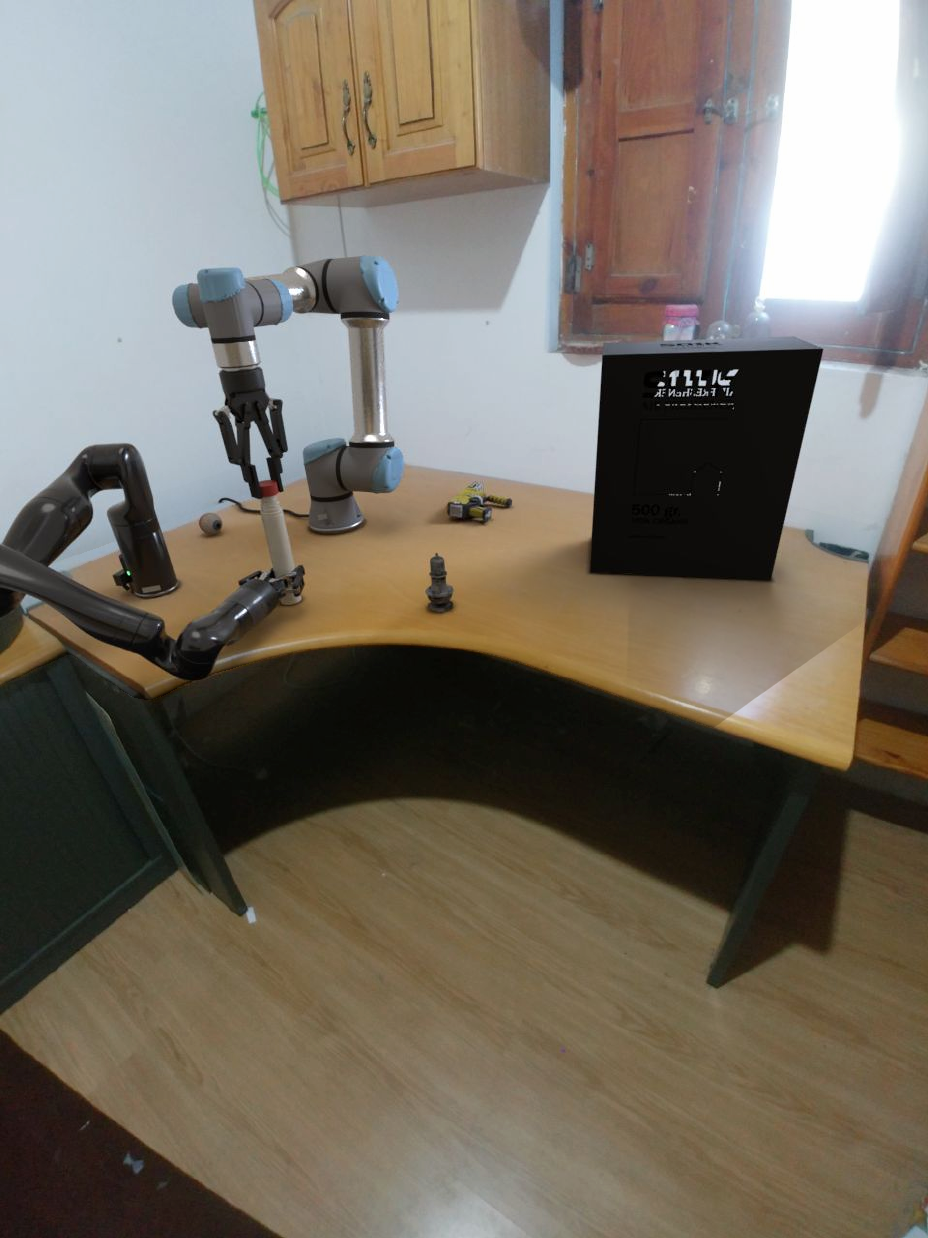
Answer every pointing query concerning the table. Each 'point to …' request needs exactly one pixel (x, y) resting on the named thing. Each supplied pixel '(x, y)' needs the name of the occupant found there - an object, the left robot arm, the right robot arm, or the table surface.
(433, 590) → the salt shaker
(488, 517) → the toy gun
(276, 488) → the cap
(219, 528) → the eyeball
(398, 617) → the table surface
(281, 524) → the bottle
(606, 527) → the cardboard box
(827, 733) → the table surface
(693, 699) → the table surface
